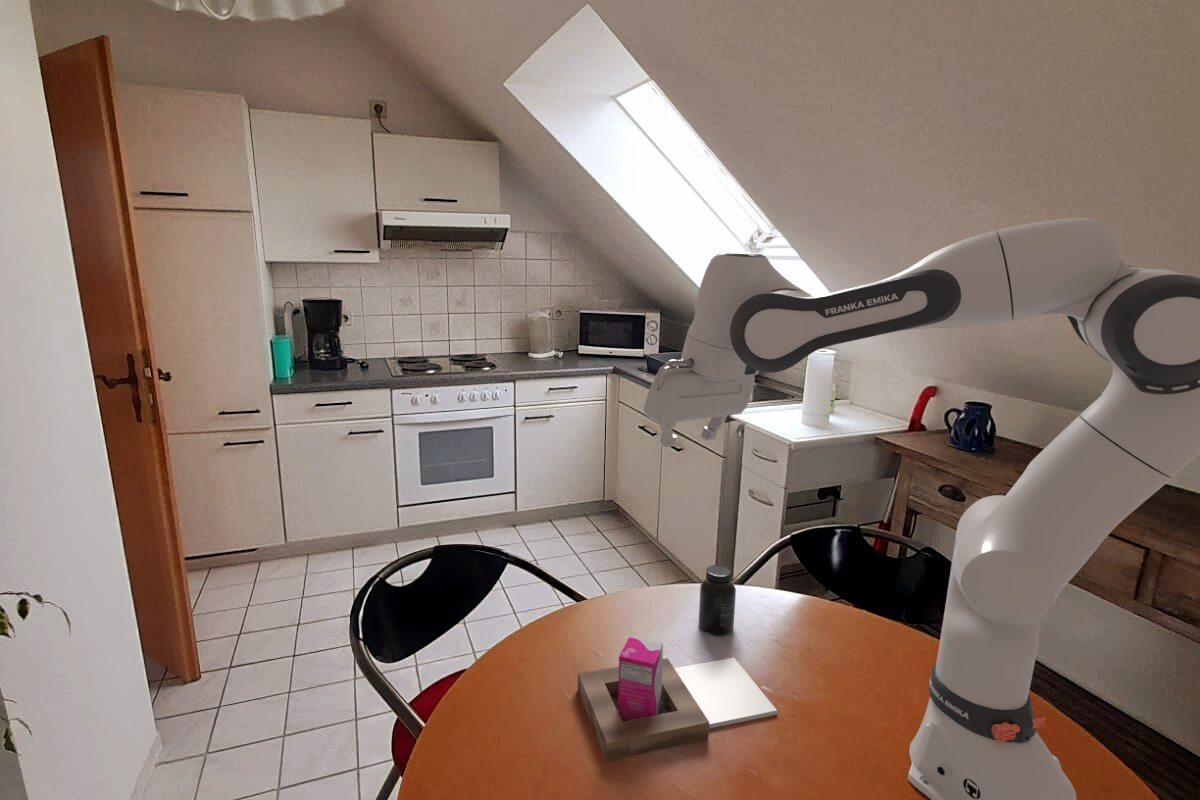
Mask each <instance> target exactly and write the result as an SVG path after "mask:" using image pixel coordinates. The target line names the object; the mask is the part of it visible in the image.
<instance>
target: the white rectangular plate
mask: <svg viewBox="0 0 1200 800" xmlns="http://www.w3.org/2000/svg"><path fill="white" fill-rule="evenodd" d="M674 669H675V670H676V672H677V673H678V675H679V676H680V678H681V680H682V681H683V683H684V684H685V686H686V687H687V689H688V690H689V692H690V693H691V695H692V696H693V698H694V699H695V701H696V702H697V704H698V706H699V707H700V709H701V710H702V712H703V713H704V715H705V716H706V718H707V719H708V721H709V730H710V729H714V728H719V727H724V726H729V725H733V724H738V723H743V722H747V721H753V720H757V719H761V718H763V719H764V718H766V717H767V718H768V717H772V716H776V715H777V714H778V709H777V708H776V706H774V704H773V703H772V702H771V701H770V699H768V697H767V696H766V695H765V693H763V691H762V690H761V689H760V688H759V686H758V685H757V684H756V682H754V680H753V679H752V678H751V676H750V675H749V674H748V672H746V670H745V669H744V668H743V667H742V666H741V664H740V663H739V662H738V660H737V659H736V658H735V657H730V658H725V659H717V660H713V661H708V662H707V661H706V662H702V663H697V664H696V663H695V664H690V665H685V666H680V667H674Z"/></svg>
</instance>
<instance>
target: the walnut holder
mask: <svg viewBox="0 0 1200 800" xmlns="http://www.w3.org/2000/svg"><path fill="white" fill-rule="evenodd" d="M674 668H675V667H674V666H673V664H672V663H671V661H670V660H669V658H668V657H667V658H663V661H662V701H661V703H662V704H663V706H664V705H665V706H664V707H665V709H666V710H667V712H666V713H659V715H654V716H649V717H644V718H639V719H633V720H628V721H622V719H621V717H620V715H619V713H618V709H617V707H616V705H615V702H614V700H613V699H614V698H619V666H614V667H608V668H601V669H597V670H590V671H584V672H578V673H577V691H578V694H579V697H580V698H581V701H582V703H583V707H584V708H585V711H586V713H587V716H588V719H589V720H590V723H591V726H592V729H593V730H594V734H595V736H596V738H597V741H598V744H599V746H600V749H601V751H602V754H603V757H604V759H605V760H606V762H610V761H614V760H619V759H624V758H627V757H628V758H629V757H633V756H637V755H641V754H646V753H647V754H648V753H652V752H657V751H662V750H666V749H671V748H674V747H675V748H676V747H680V746H684V745H688V744H693V743H699V742H703V741H708V740H709V735H710V734H709V732H710V729H709V721H708V719H707V718H706V716H705V715H704V713H703V712H702V710H701V709H700V707H699V706H698V704H697V702H696V701H695V699H694V698H693V696H692V695H691V693H690V692H689V690H688V689H687V687H686V686H685V684H684V683H683V681H682V680H681V678H680V676H679V675H678V673H677V672H676V670H675V669H674Z"/></svg>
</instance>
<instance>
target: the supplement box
mask: <svg viewBox="0 0 1200 800" xmlns="http://www.w3.org/2000/svg"><path fill="white" fill-rule="evenodd" d="M663 649H664V643H663V642H658V641H653V640H647V639H642V638H638V637H633V636H628V638H627V640H626V642H625V644H624V646H623V648H622V650H621V652H620V654H619V656H618V667H619V697H618V706H617V707H618V709H617V711H618V713H619V715H620V717H621V719H622V722H623V721H628V720H633V719H639V718H644V717H649V716H654V715H659V714H660V712H661V709H662V706H663V705H662V704H663V703H662V661H663V659H664V657H663V656H664V650H663Z"/></svg>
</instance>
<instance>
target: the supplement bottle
mask: <svg viewBox="0 0 1200 800" xmlns="http://www.w3.org/2000/svg"><path fill="white" fill-rule="evenodd" d="M736 593H737V589H736V587H735V585H734V583H733V582H732V570H731V569H730V568H729V567H727V566H723V565H721V564H720V565H718V564H717V565H716V564H714V565H710V566H707V568H706V572H705V579H704V580H703V581H702V582H701V583H700V589H699V603H698V604H699V607H698V625H699V627H700V629H701V630H702V631H703V632H705V633H707V634H709V635H712V636H725V635H727V634H730V633H731V632H732V631H733V629H734V623H735V614H736V613H735V612H736V611H735V609H736Z"/></svg>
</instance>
